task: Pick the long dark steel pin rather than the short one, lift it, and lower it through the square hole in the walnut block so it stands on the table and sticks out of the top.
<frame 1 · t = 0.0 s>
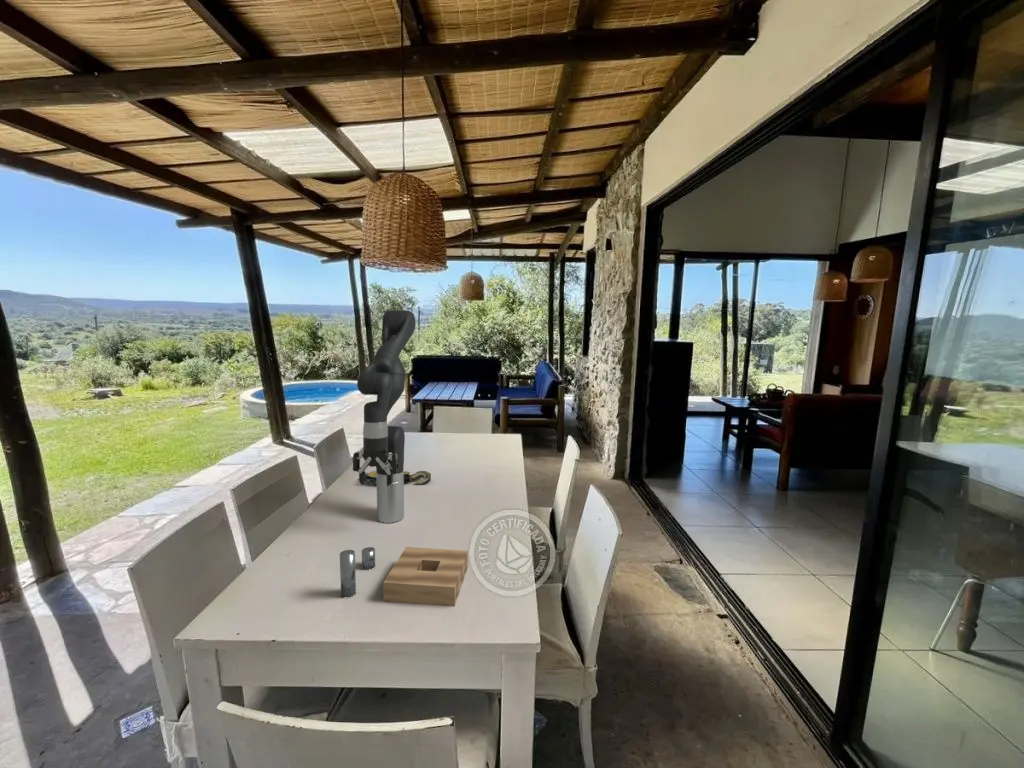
hand: (376, 484, 144), 17 cm above the table, tool pointing down, fingers open, 8 cm apart
short pin: (368, 566, 128), on the table
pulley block: (396, 483, 195), on the table
long pin: (348, 593, 115), on the table
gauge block: (428, 583, 120), on the table
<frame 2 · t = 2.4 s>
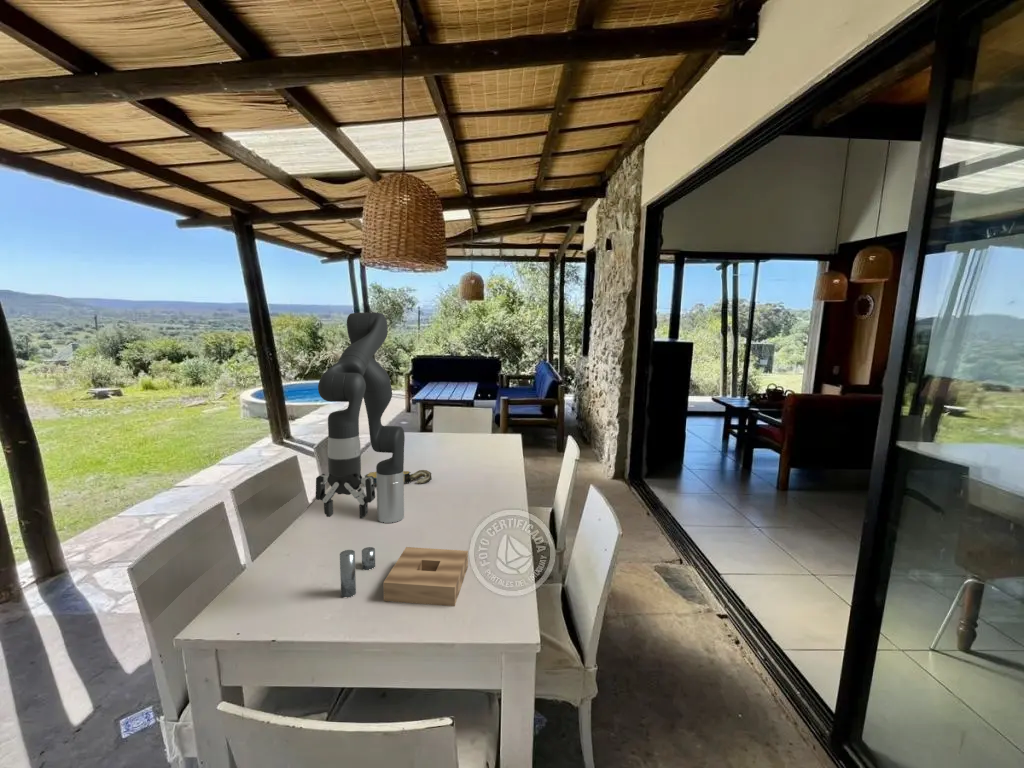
hand: (346, 516, 112), 21 cm above the table, tool pointing down, fingers open, 8 cm apart
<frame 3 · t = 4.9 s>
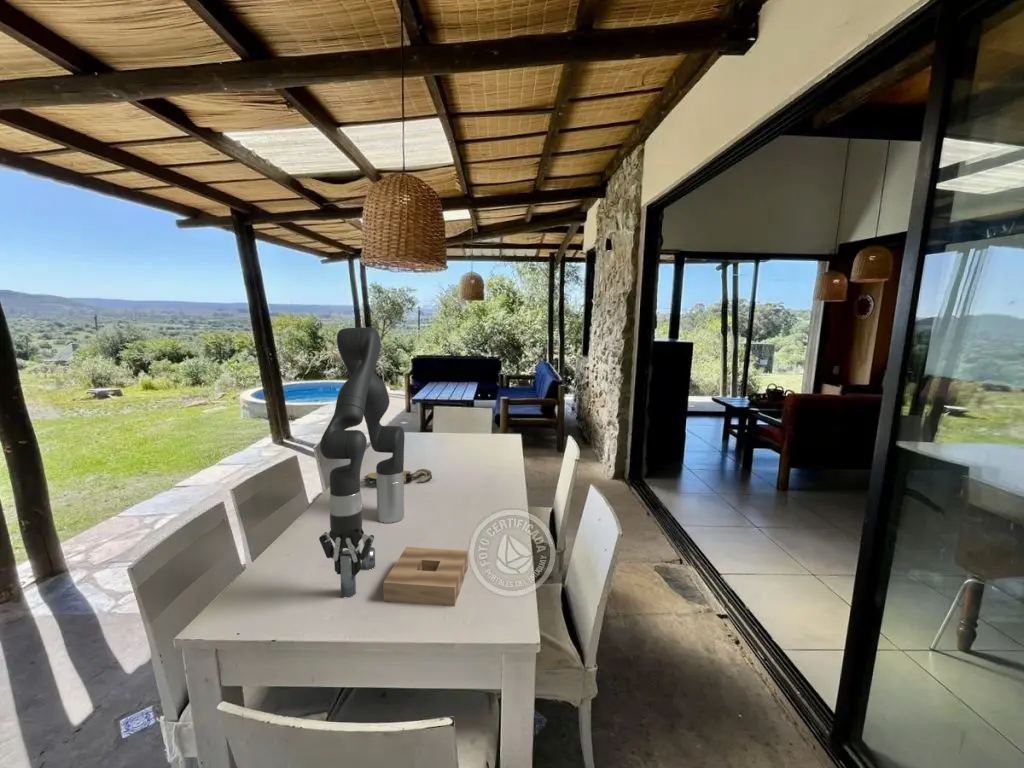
hand: (347, 572, 114), 6 cm above the table, tool pointing down, fingers closed on long pin, 3 cm apart
long pin: (348, 593, 115), on the table, touching gripper
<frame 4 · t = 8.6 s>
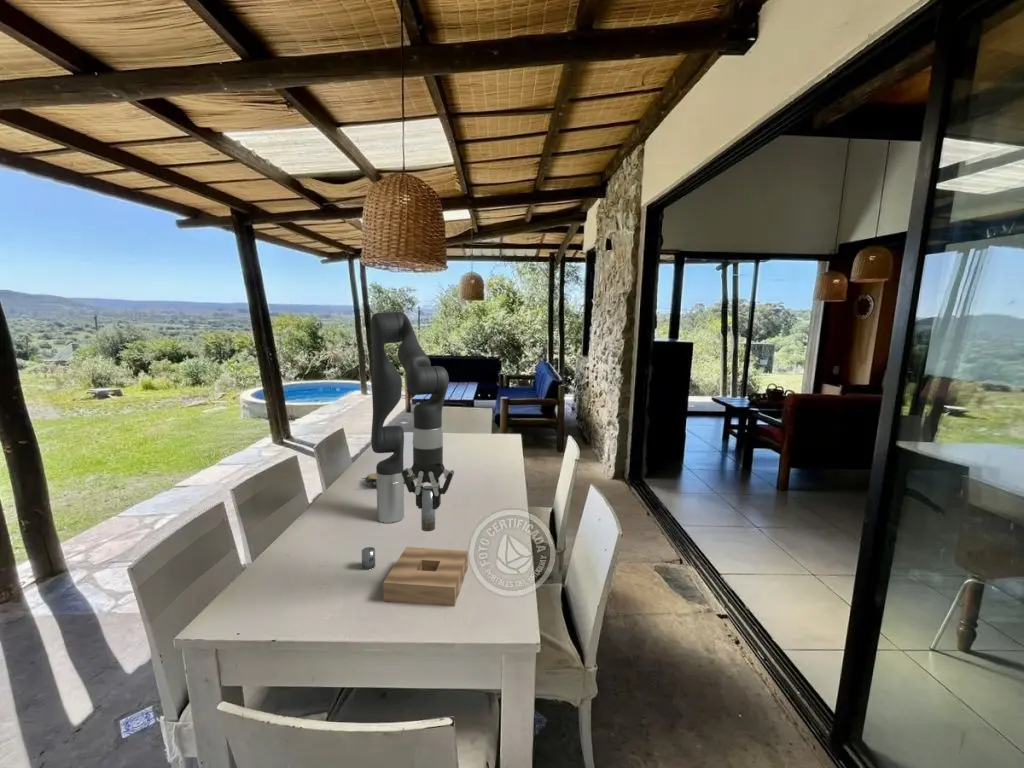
hand: (428, 507, 118), 21 cm above the table, tool pointing down, fingers closed on long pin, 3 cm apart
long pin: (428, 528, 118), point 15 cm above the table, touching gripper
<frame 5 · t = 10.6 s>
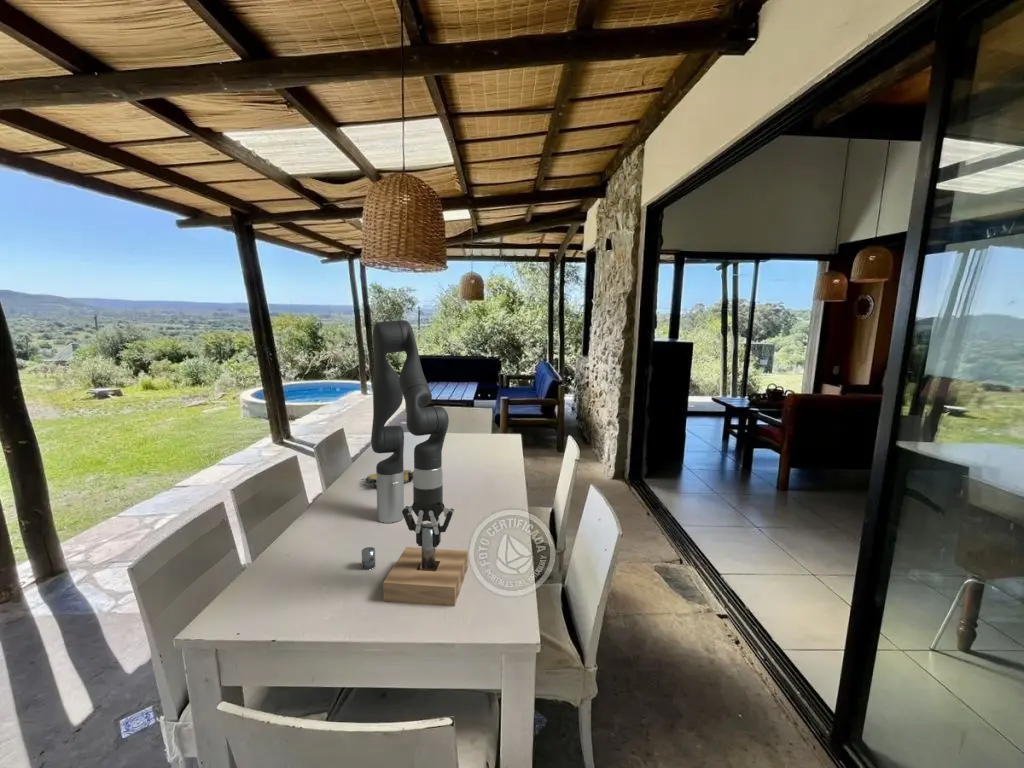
hand: (428, 545, 119), 11 cm above the table, tool pointing down, fingers closed on long pin, 3 cm apart
long pin: (428, 565, 120), point 5 cm above the table, touching gripper
when the fingers open (7 cm above the table, at t = 12.4 s): long pin drops 1 cm, resting in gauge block.
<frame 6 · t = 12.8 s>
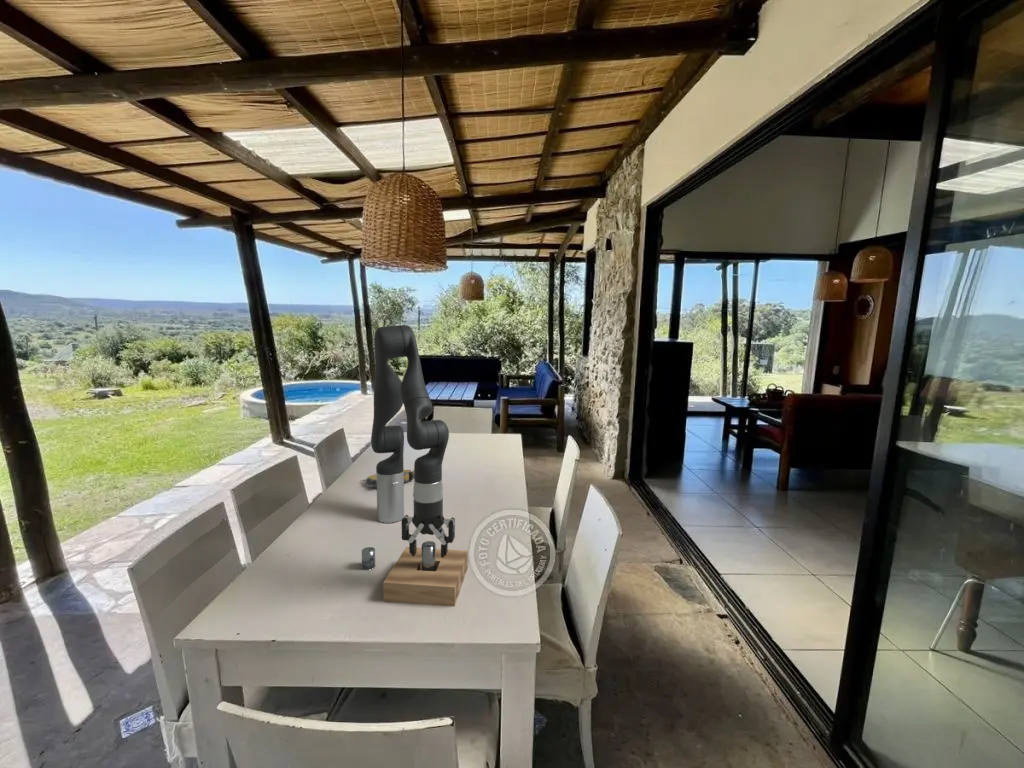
hand: (428, 555, 119), 8 cm above the table, tool pointing down, fingers open, 7 cm apart
long pin: (428, 583, 120), resting in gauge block
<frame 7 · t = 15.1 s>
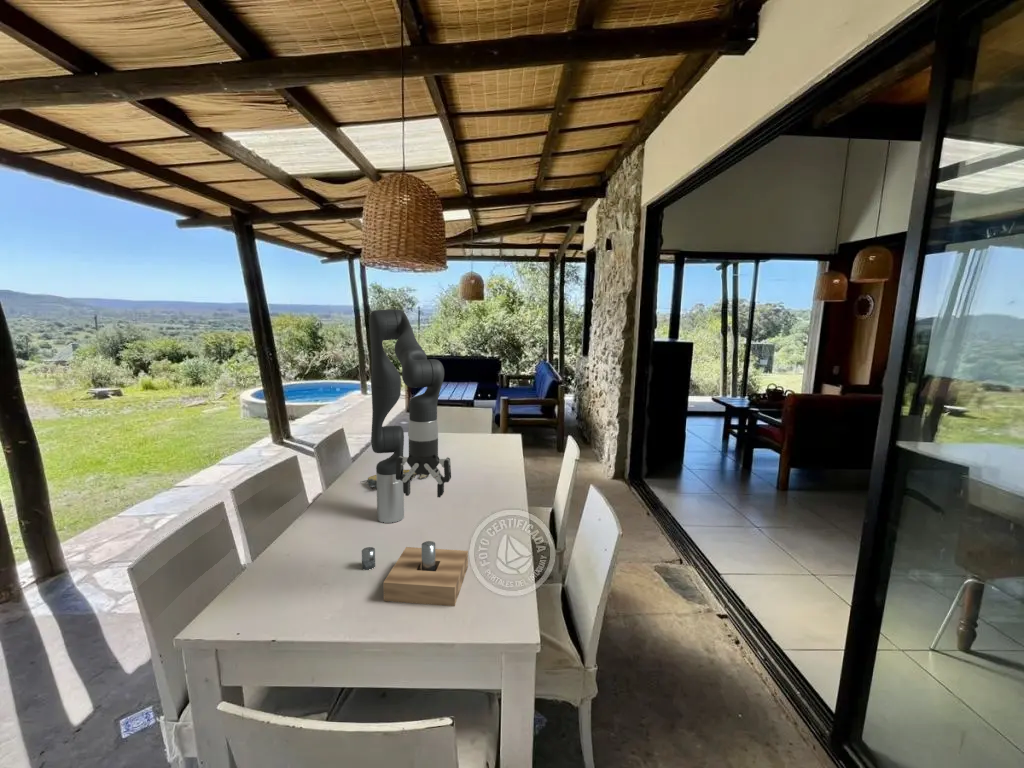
hand: (423, 495, 119), 24 cm above the table, tool pointing down, fingers open, 8 cm apart
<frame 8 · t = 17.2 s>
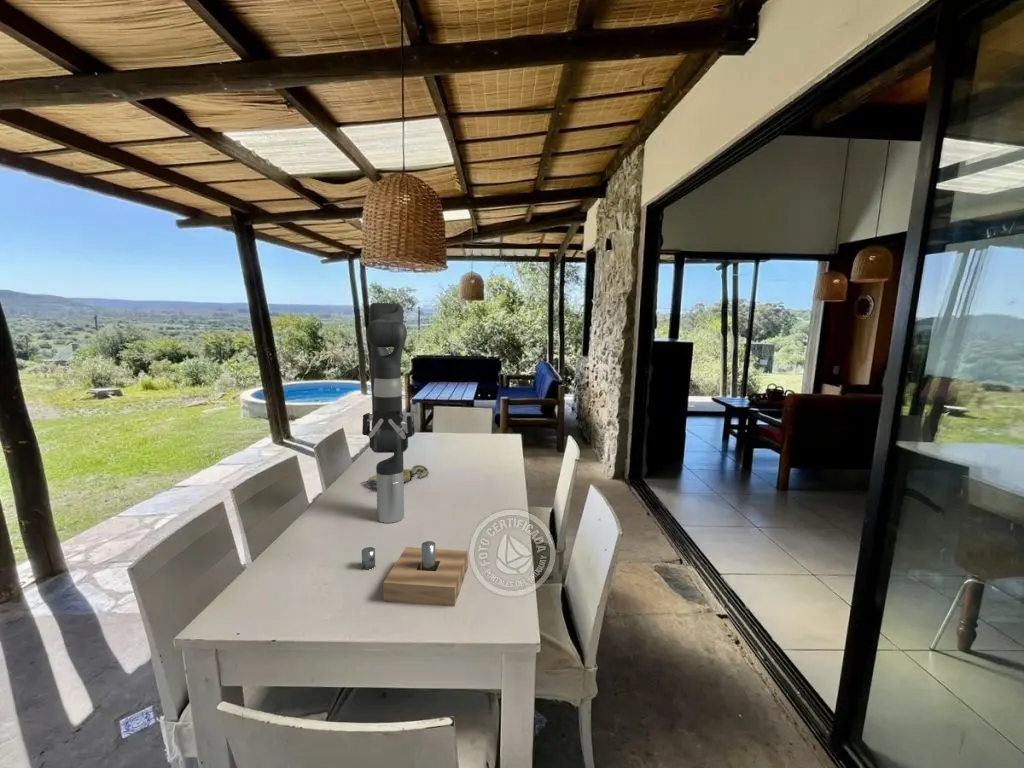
hand: (388, 450, 127), 33 cm above the table, tool pointing down, fingers open, 8 cm apart
at the end: long pin 0.0 cm off-centre on the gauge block, point 0.0 cm above the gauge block's base; long pin tilted 0°; short pin moved 0.0 cm from its start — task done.
